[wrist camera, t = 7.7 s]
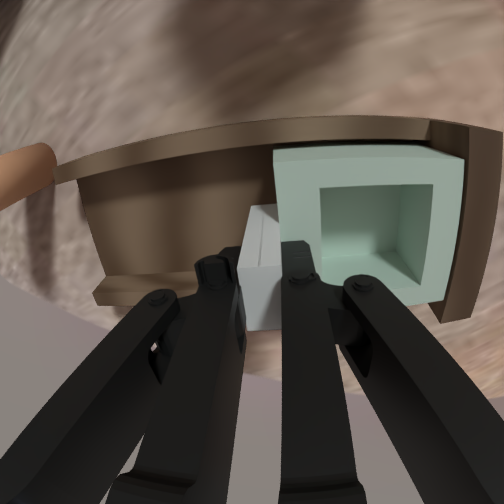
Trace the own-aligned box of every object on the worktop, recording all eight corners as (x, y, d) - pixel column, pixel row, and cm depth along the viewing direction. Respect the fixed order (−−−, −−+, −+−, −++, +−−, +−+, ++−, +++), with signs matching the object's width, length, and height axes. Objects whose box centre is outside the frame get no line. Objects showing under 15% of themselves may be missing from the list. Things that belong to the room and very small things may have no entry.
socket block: (284, 261, 20) (286, 318, 15) (273, 146, 17) (273, 162, 12) (407, 251, 19) (443, 300, 14) (413, 142, 16) (464, 159, 10)
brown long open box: (118, 279, 24) (73, 338, 17) (83, 156, 19) (12, 185, 12) (423, 257, 21) (470, 317, 14) (431, 118, 16) (502, 132, 9)
